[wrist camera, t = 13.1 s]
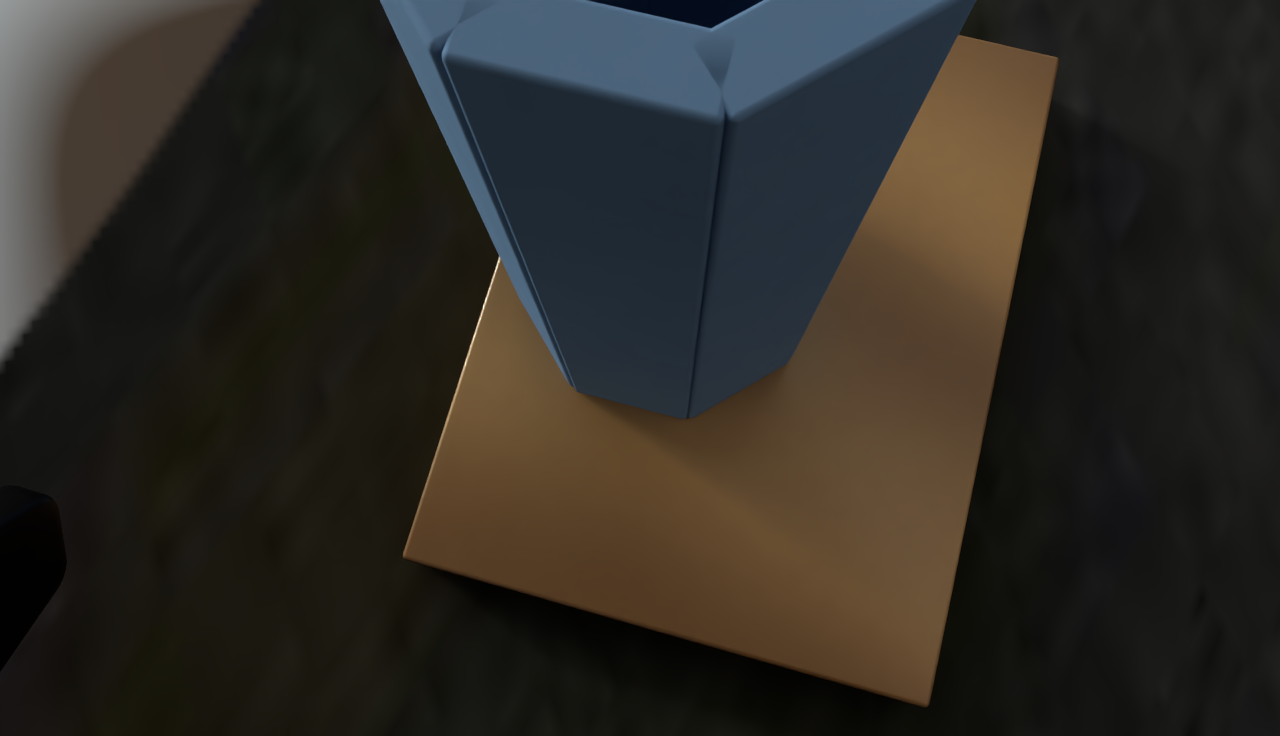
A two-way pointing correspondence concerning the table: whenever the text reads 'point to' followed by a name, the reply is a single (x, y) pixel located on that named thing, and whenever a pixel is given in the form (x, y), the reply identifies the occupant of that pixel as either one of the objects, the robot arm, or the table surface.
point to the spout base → (776, 430)
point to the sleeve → (674, 166)
